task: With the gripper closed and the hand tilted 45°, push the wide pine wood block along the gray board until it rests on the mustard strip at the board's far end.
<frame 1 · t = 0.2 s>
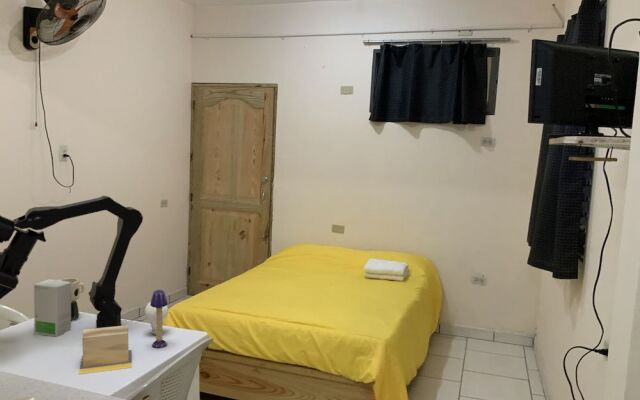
toy lamp: (159, 347, 145), on the table
pine block: (106, 360, 135), resting on gray board
character mug: (68, 319, 165), on the table
skincare box: (53, 332, 155), on the table
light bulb: (156, 335, 154), on the table
gray board: (106, 362, 134), on the table
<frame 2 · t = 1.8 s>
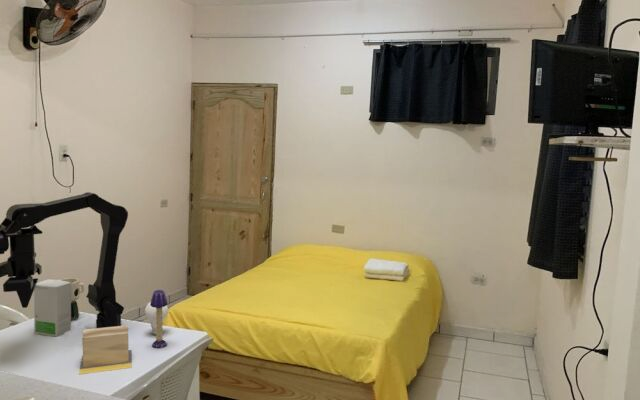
hand: (25, 307, 138), 13 cm above the table, tool pointing down, fingers closed
nothing on the table moved.
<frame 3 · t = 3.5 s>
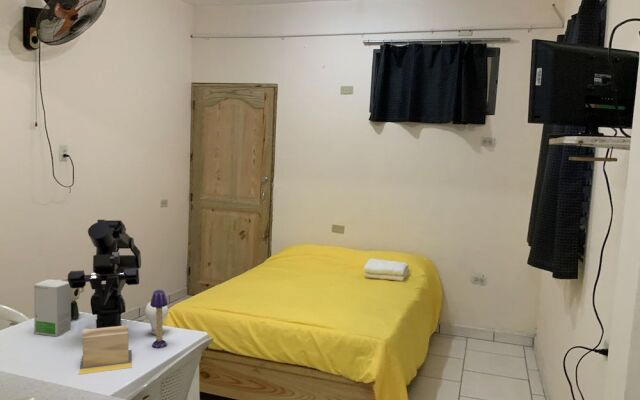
hand: (102, 304, 141), 13 cm above the table, tool tilted 45°, fingers closed
nothing on the table moved.
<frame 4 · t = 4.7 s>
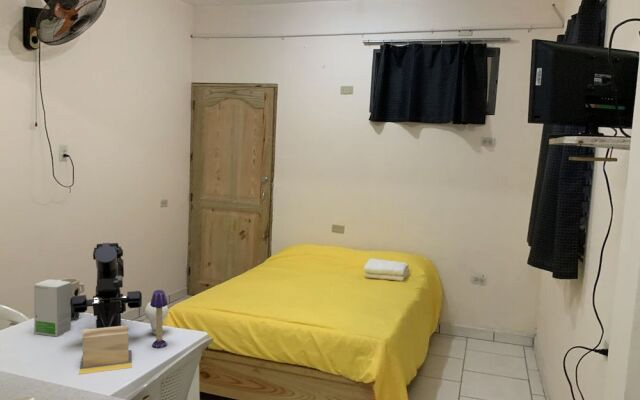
hand: (107, 329, 140), 7 cm above the table, tool tilted 45°, fingers closed
nothing on the table moved.
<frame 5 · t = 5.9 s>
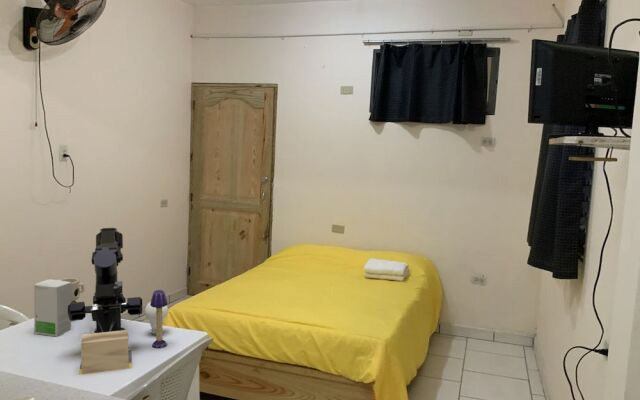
hand: (106, 337, 134), 7 cm above the table, tool tilted 45°, fingers closed
pine block: (106, 365, 132), resting on gray board
everything else where it was.
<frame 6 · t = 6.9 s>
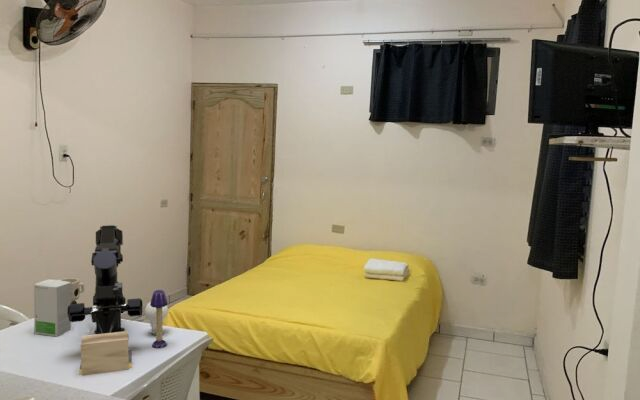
hand: (106, 339, 134), 7 cm above the table, tool tilted 45°, fingers closed
pine block: (106, 367, 131), resting on gray board
everything else where it was.
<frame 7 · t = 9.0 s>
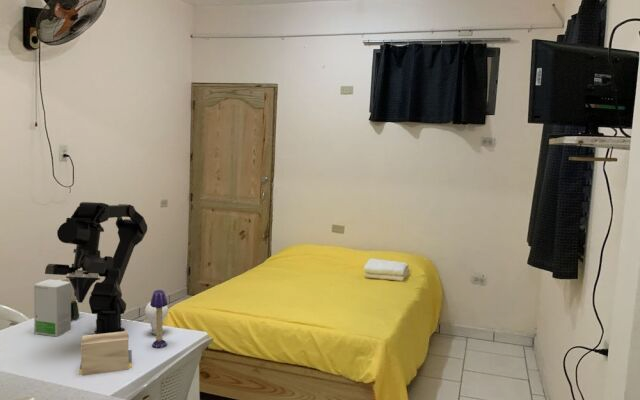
hand: (80, 302, 140), 14 cm above the table, tool tilted 15°, fingers closed
nothing on the table moved.
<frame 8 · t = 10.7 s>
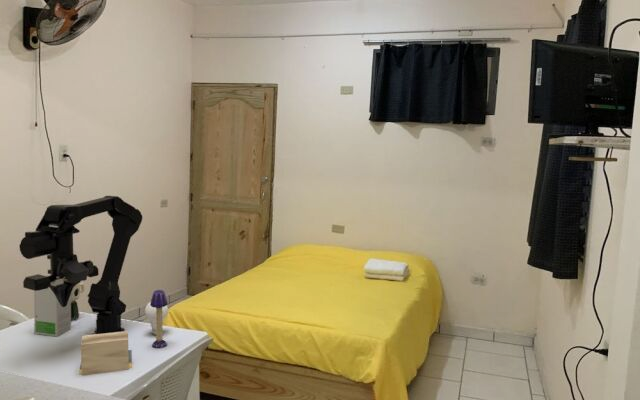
hand: (63, 306, 139), 13 cm above the table, tool pointing down, fingers closed
nothing on the table moved.
at the end: pine block 0.2 cm from the target spot, resting on gray board; pine block tilted 0°; pine block moved 4.4 cm from its start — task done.
